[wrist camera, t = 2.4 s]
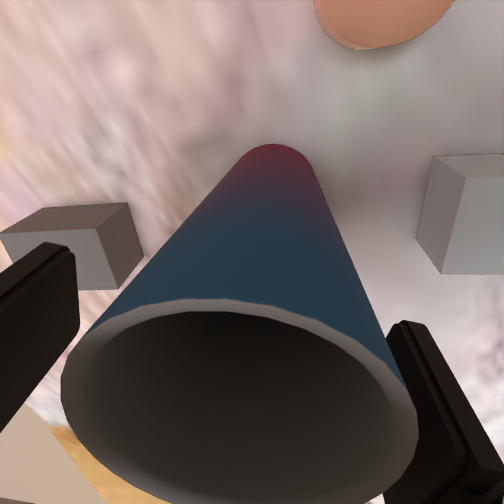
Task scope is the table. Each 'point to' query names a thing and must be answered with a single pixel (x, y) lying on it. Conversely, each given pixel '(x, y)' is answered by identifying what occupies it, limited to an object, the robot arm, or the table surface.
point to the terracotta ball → (377, 20)
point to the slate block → (464, 214)
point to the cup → (246, 357)
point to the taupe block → (83, 241)
